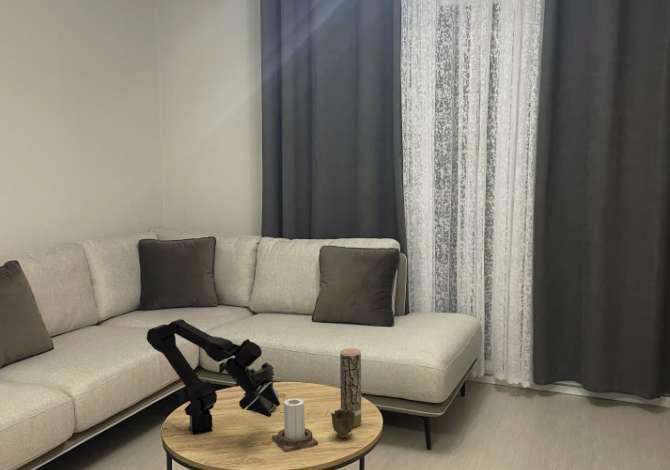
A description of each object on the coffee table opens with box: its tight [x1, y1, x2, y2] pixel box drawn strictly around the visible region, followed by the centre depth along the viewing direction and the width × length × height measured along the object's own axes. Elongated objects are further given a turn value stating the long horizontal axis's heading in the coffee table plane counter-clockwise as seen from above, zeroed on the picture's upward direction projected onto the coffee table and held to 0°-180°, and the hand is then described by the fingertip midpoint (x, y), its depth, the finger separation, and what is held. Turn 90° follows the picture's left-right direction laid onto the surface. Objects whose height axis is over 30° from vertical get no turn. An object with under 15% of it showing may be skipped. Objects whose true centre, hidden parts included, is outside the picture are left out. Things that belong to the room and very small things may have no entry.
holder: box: [271, 428, 319, 453], centre depth 212 cm, size 11×11×3 cm
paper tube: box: [339, 348, 362, 428], centre depth 224 cm, size 7×7×25 cm
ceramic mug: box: [259, 387, 279, 412], centre depth 240 cm, size 11×8×8 cm
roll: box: [283, 398, 306, 440], centre depth 212 cm, size 6×6×12 cm
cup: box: [330, 408, 355, 440], centre depth 215 cm, size 8×7×8 cm
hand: (275, 410), depth 213 cm, fingers open, 9 cm apart
